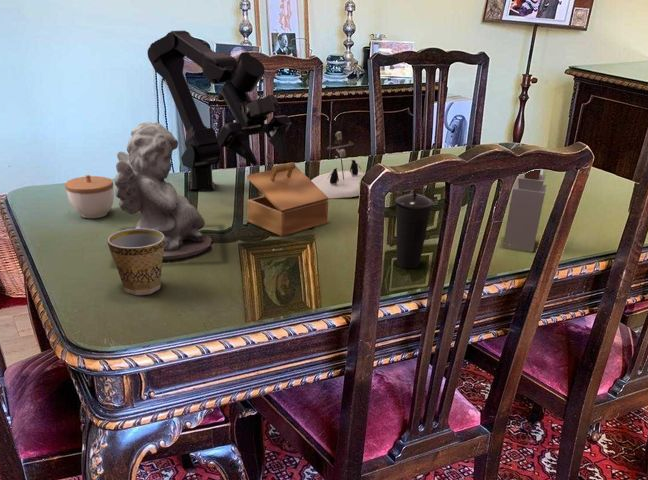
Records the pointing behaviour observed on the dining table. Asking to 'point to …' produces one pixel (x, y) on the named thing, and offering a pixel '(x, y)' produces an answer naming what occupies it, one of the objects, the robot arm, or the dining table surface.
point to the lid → (287, 187)
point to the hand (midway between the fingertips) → (271, 161)
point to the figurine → (340, 176)
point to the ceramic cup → (138, 259)
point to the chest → (285, 216)
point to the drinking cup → (411, 228)
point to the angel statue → (159, 193)
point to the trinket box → (90, 195)
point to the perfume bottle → (525, 212)
